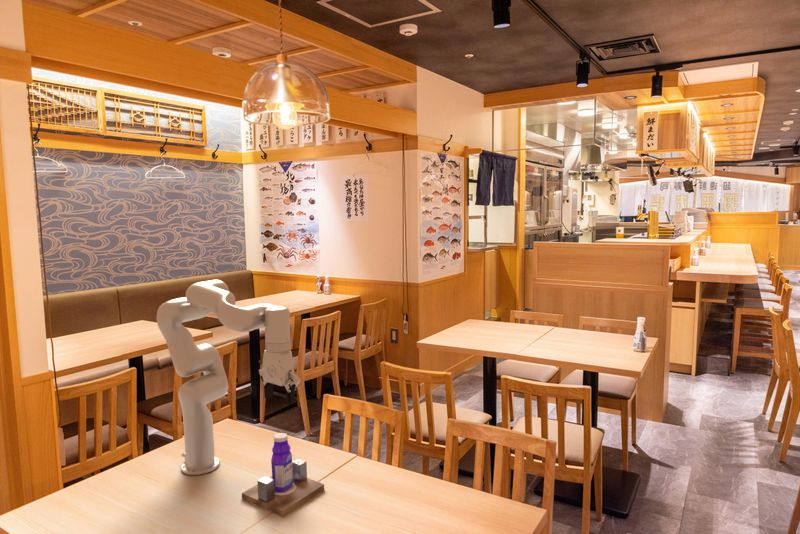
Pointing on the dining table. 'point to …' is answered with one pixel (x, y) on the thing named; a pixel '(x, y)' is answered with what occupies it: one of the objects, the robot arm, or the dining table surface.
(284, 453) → the bottle
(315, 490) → the base board
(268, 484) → the post pair
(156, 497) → the dining table surface
